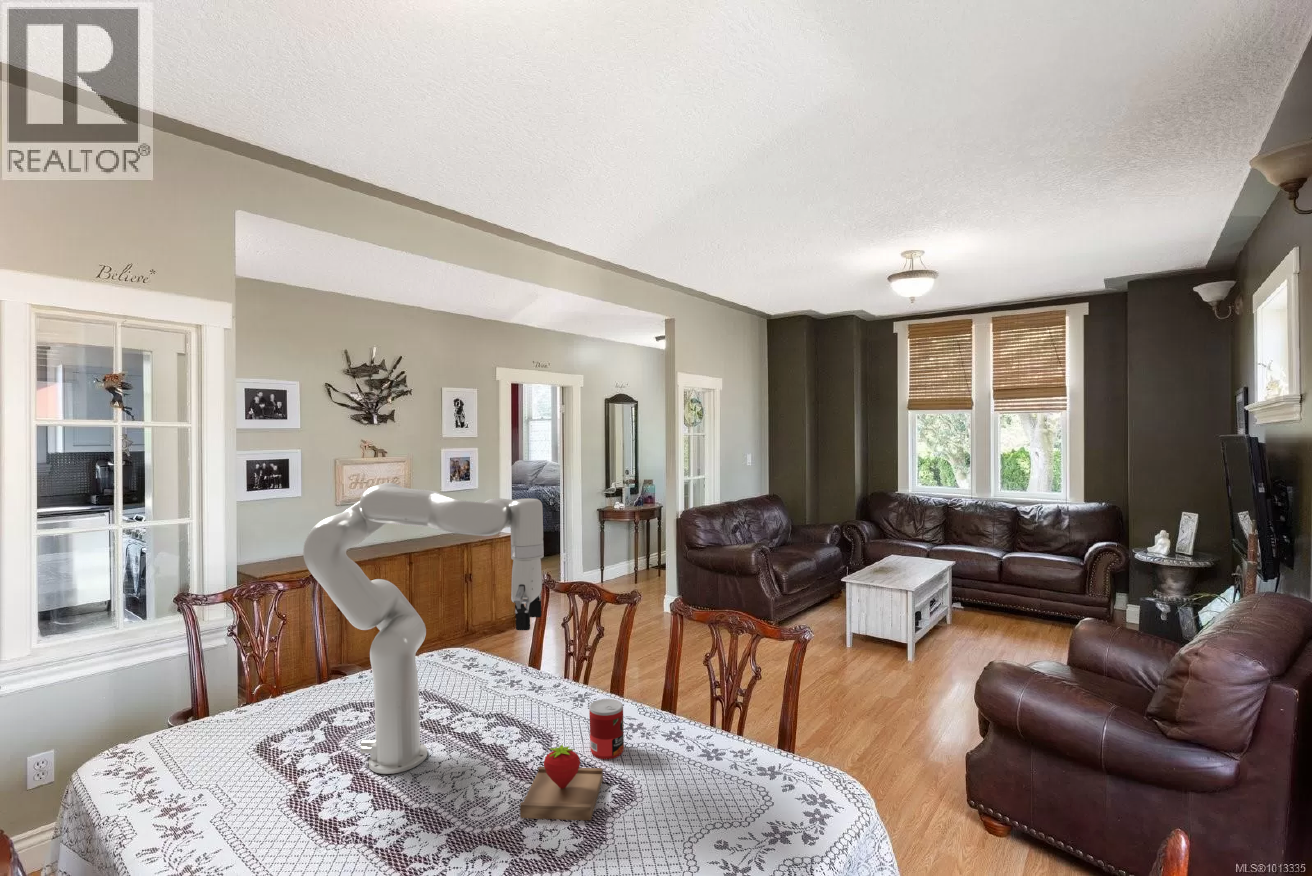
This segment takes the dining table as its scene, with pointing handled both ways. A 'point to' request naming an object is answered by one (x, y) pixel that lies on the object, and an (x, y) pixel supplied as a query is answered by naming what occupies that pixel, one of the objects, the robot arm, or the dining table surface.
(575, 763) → the strawberry
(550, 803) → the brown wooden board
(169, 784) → the dining table surface
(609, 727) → the canned food
